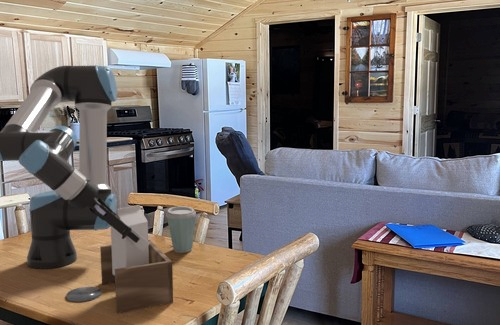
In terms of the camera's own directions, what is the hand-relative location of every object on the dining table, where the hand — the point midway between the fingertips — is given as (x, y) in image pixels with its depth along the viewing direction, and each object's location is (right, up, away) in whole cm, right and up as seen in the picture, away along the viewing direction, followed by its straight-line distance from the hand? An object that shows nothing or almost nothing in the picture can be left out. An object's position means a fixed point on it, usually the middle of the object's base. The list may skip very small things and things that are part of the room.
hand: (141, 242), depth 130 cm
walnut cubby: (-2, -14, +1) cm, 14 cm away
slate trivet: (-16, -14, -1) cm, 21 cm away
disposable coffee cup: (+5, -10, +39) cm, 40 cm away
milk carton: (-3, -9, 0) cm, 10 cm away
